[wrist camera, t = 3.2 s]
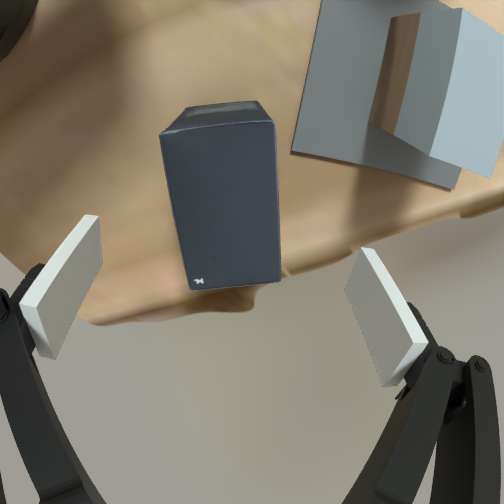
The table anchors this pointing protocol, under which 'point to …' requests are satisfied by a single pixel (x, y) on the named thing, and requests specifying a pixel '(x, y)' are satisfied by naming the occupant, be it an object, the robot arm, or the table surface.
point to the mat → (358, 91)
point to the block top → (455, 91)
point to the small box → (224, 194)
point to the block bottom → (394, 71)
